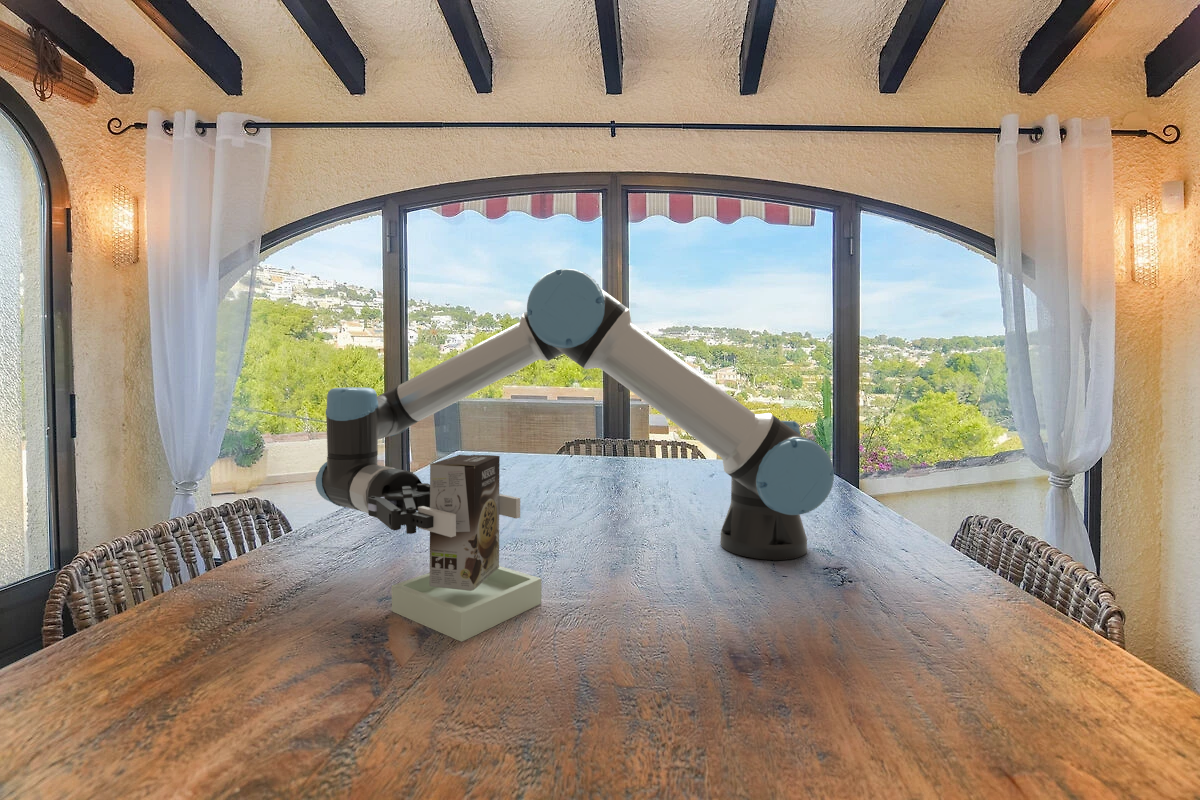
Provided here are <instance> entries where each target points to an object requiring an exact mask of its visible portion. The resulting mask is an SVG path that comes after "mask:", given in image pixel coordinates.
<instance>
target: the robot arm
mask: <svg viewBox="0 0 1200 800" xmlns="http://www.w3.org/2000/svg"><path fill="white" fill-rule="evenodd" d="M563 355H565V356H566V357H567V358H569V359H570V360H572V361H573V362H575V364H577V365H579V366H580V367H582V368H583V369H584V370H591V369H592V370H593V369H600V370H602V371H603V372H605V374H607V375H608V376H610V377H611V378H613V380H616V382H618V383H619V384H621V385H622V386H624V387H625V388H626V389H627V390H629V391H630V392H631V393H633V394H635V395H636V396H637V397H639V399H640V400H643V401H644V402H645V403H647V404H648V405H649V406H651V407H652V408H654V410H656V411H657V412H659V413H660V414H662V415H663V416H664V417H666V418H667V420H669V421H671V422H672V423H674V424H675V425H676V426H678V427H679V428H680V429H682V430H683V431H685V432H686V433H687V434H688V435H690V436H691V437H693V438H694V439H695V440H696V441H698V442H699V443H701V444H702V445H704V446H705V447H706V448H708V449H709V450H711V451H712V452H713V453H715V454H716V455H717V456H719V457H720V458H721V460H722V464H723V465H722V466H723V471H724V473H725V474H727V475H728V476H730V477H731V483H730V484H731V487H730V491H731V492H730V494H731V495H730V505H729V508H728V511H727V513H726V516H725V518H724V522H723V523H722V528H721V529H720V539H719V541H720V546H721V547H722V549H724V550H726V551H728V552H729V553H732V554H735V555H739V556H742V557H746V558H749V559H758V560H769V561H770V560H771V561H781V560H786V561H787V560H793V559H797V558H801V557H803V556H805V555H806V554H807V552H808V537H807V534H806V531H805V528H804V524H803V521H802V518H801V515H804V514H808V513H810V512H812V511H814V510H816V509H817V508H818V507H820V506H821V505H822V504H823V503H824V502H825V501H826V500H827V498H828V497H829V495H830V493H831V491H832V488H833V486H834V481H835V470H834V465H833V462H832V459H831V458H830V456H829V453H827V451H826V450H825V449H824V448H823V447H822V446H821V445H820V444H819V443H818V442H817V441H814V440H811V439H809V438H807V437H804V436H803V435H801V434H802V433H801V431H800V425H799V423H798V422H797V421H795V420H794V421H793V420H780V419H779V418H778V417H776V415H774V414H772V413H771V412H765V413H764V412H763V413H754V412H753V411H751V410H750V409H749V408H748V407H746V406H745V405H743V404H742V403H741V402H739V401H738V400H737V399H735V398H734V397H733V396H731V395H730V394H729V393H727V392H726V391H724V390H723V389H721V387H719V386H717V385H716V384H715V383H714V382H712V381H711V380H709V379H708V378H707V377H705V376H704V375H703V374H701V373H700V372H699V371H697V370H696V369H694V368H693V367H692V366H691V365H689V364H687V363H686V362H685V361H683V360H682V359H681V358H679V357H678V356H677V355H675V353H672V352H671V351H670V350H669V349H667V348H666V347H665V346H663V345H662V344H660V343H659V342H658V341H656V340H655V339H654V338H652V337H651V336H650V335H648V334H647V333H645V332H644V331H643V330H641V329H640V328H639V327H638V326H636V325H635V324H634V323H633V322H632V319H631V314H630V309H629V308H628V307H627V306H625V305H624V304H622V303H621V302H620V301H619V300H617V298H614V297H613V296H612V295H610V294H609V293H608V292H606V291H605V290H603V289H602V288H601V287H600V286H599V284H598V283H597V281H596V280H595V279H594V278H593V277H592V276H591V275H589V274H587V273H586V272H583V271H581V270H579V269H578V270H577V269H573V268H560V269H559V268H558V269H555V270H552V271H550V272H548V273H546V274H545V275H543V276H542V277H540V278H539V279H538V280H537V282H536V283H534V285H533V287H532V288H531V290H530V293H529V295H528V297H527V303H526V311H525V312H524V313H521V318H520V320H519V321H518V322H517V323H515V324H513V325H511V326H509V327H508V328H506V329H503V330H501V331H499V332H498V333H496V334H494V335H492V336H490V337H488V338H487V339H484V340H482V341H481V342H479V343H477V344H475V345H473V346H471V347H469V348H468V349H467V348H466V349H465V350H463V351H461V352H460V353H457V354H456V355H454V356H452V357H450V358H448V359H446V360H445V361H442V362H440V363H439V364H437V365H435V366H433V367H431V368H429V369H427V370H426V371H423V372H422V373H419V374H417V375H416V376H414V377H412V378H410V379H409V380H406V381H404V382H402V383H400V384H398V385H397V386H396V387H393V388H391V389H388V390H387V391H384V393H381V394H380V395H377V392H376V390H375V389H374V388H372V387H356V386H355V387H354V386H350V387H334V388H331V389H330V390H329V391H328V392H327V395H326V409H325V415H326V443H327V444H326V447H327V448H326V449H327V450H326V451H327V456H326V462H324V463H323V464H322V465H321V466H320V468H319V470H318V472H317V475H316V476H315V487H316V490H317V492H318V494H319V496H321V498H323V499H324V500H325V501H328V502H329V503H331V504H333V505H335V506H338V507H342V508H347V509H348V508H349V509H352V510H355V511H360V512H362V513H366V514H367V515H368V516H370V517H374V518H376V519H378V521H380V522H381V523H382V524H383V525H384V526H386V527H387V528H389V529H390V530H392V531H399V530H401V529H402V526H405V527H406V529H405V530H406V531H405V533H406V534H407V535H408V534H409V535H412V534H416V533H417V528H418V529H422V530H424V531H427V532H430V531H431V532H434V533H438V534H441V535H445V536H448V537H454V536H456V514H453V513H449V512H445V511H441V510H437V509H433V508H430V483H425V482H424V483H422V481H421V479H420V478H419V477H418V476H417V474H415V473H414V472H412V471H410V470H405V469H399V468H395V467H393V466H391V467H390V466H387V465H386V466H385V465H379V464H378V452H379V451H378V449H379V447H378V446H379V444H378V440H381V439H384V438H387V437H394V436H396V435H397V436H398V435H399V434H402V433H403V432H405V431H406V430H408V429H409V427H411V426H413V425H415V424H416V423H418V422H420V421H422V420H424V419H426V418H428V417H430V416H432V415H434V414H436V413H438V412H440V411H442V410H444V409H445V408H447V407H449V406H451V405H454V404H455V403H458V402H459V401H461V400H463V399H465V398H467V397H469V396H470V395H471V396H472V394H474V393H476V392H479V391H480V390H483V389H484V388H486V387H489V386H490V385H493V384H494V383H496V382H498V381H499V380H503V379H505V377H508V376H509V375H512V374H514V373H516V372H518V371H520V370H521V369H523V368H526V367H527V366H529V365H531V364H533V363H535V362H537V361H540V360H542V361H545V362H549V361H551V360H553V359H555V358H557V357H559V356H563ZM499 516H503V517H508V518H512V519H515V520H516V519H519V518H521V497H517V496H511V495H507V494H501V493H499Z"/></svg>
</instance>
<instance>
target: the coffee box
mask: <svg viewBox="0 0 1200 800" xmlns="http://www.w3.org/2000/svg"><path fill="white" fill-rule="evenodd" d="M500 457H501V456H500V455H493V454H491V455H490V454H488V455H487V454H470V455H469V454H457V455H455V456H451V457H449V458H445V459H442V460H439V461H435V462H431V463H430V464H429V466H430V469H429V476H430V477H429V484H430V508H433V509H437V510H441V511H445V512H449V513H453V514H456V536H454V537H448V536H445V535H441V534H438V533H434V532H431V531H429V573H430V581H429V584H430V586H431V587H441V588H450V589H459V590H467V591H472V590H475V589H476V588H477V587H478V586H479V585H480V584H481V583H482V582H483V581H485V580H486V579H487V578H488V577H489V576H490V575H491V574H492V573H494V572H495V571H496V570H497V569H498V568H499V566H500V515H499V494H500V459H501V458H500Z"/></svg>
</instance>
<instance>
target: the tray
mask: <svg viewBox="0 0 1200 800" xmlns="http://www.w3.org/2000/svg"><path fill="white" fill-rule="evenodd" d="M429 581H430V572H428V573H425V574H421V575H419V576H416V577H412V578H410V579H406V580H404V581H401V582H398V583H394V584H393V585H391V612H392V613H394V614H397V615H399V616H402V617H404V618H406V619H408V620H410V621H413V622H415V623H417V624H420V625H422V626H425V627H426V628H429V629H431V630H434V631H436V632H439V633H441V634H443V635H445V636H448V637H449V638H451V639H454V640H456V641H459V642H461V643H462V642H464V641H467V640H468V639H470V638H473V637H475V636H476V635H478V634H480V633H481V634H482V632H485V631H487V630H490V629H491V628H493V627H495V626H498V625H500V624H502V623H503V622H506V621H508V620H510V619H512V618H514V617H517V616H518V615H521V614H522V613H525V612H526V611H528V610H530V609H533V608H536V607H537V606H540V605H542V600H543V599H542V598H543V597H542V595H543V594H542V589H543V588H542V587H543V586H542V584H543V583H542V578H540V577H538V576H535V575H531V574H528V573H524V572H521V571H518V570H514V569H512V568H509V567H508V568H507V567H504V566H501V565H499V568H498V569H497V570H496V571H495V572H494V573H492V574H491V575H490V576H489V577H488V578H487V579H486V580H485V581H483V582H482V583H481V584H480V585H479V586H478V587H477V588H476V589H475V590H472V591H467V590H459V589H450V588H441V587H431V586H430V584H429Z"/></svg>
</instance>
